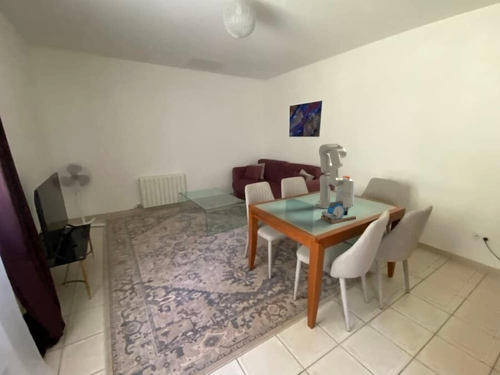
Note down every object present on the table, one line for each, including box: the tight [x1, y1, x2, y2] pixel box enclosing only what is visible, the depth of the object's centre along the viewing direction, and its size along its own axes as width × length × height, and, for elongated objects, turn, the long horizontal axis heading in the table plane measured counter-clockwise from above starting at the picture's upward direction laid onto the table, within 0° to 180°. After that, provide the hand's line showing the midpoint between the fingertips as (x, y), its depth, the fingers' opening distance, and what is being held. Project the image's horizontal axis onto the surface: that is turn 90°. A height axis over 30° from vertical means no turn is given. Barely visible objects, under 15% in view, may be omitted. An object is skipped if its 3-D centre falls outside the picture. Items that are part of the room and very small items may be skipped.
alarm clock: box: [326, 201, 345, 220], centre depth 182 cm, size 13×6×15 cm, turn 111°
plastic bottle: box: [335, 175, 355, 206], centre depth 222 cm, size 15×15×28 cm
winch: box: [320, 210, 337, 225], centre depth 179 cm, size 16×5×8 cm, turn 21°
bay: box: [335, 215, 357, 224], centre depth 185 cm, size 13×22×2 cm, turn 112°
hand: (345, 215), depth 186 cm, fingers closed
